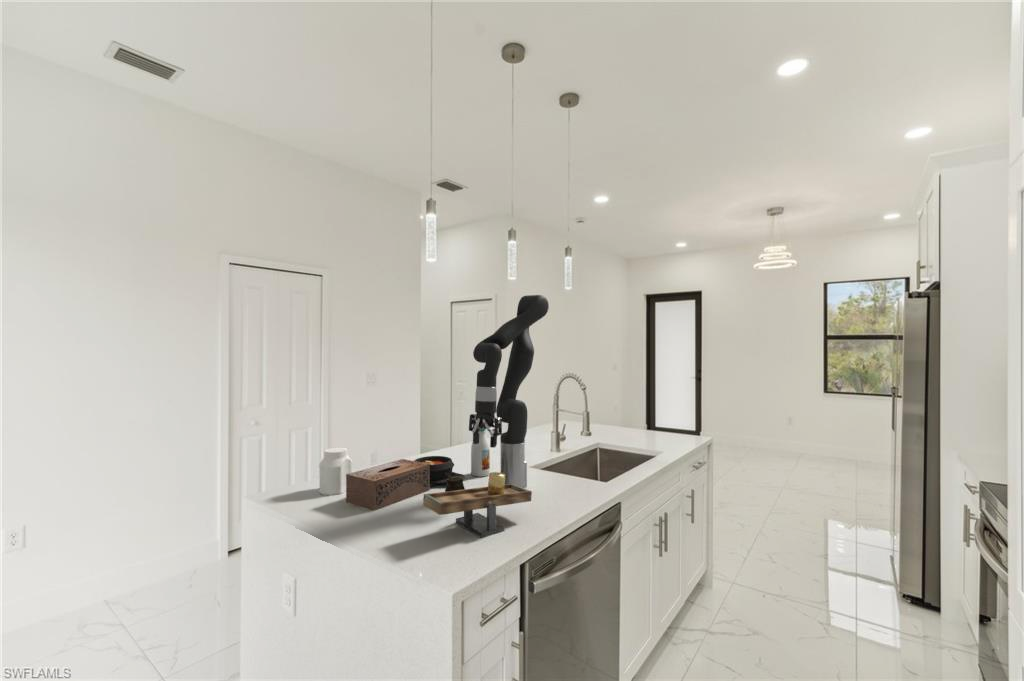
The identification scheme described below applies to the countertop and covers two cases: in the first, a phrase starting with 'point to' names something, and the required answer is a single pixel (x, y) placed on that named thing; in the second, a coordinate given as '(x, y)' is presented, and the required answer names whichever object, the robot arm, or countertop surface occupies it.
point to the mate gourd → (454, 483)
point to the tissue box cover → (387, 484)
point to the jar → (334, 471)
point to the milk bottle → (480, 456)
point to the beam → (474, 499)
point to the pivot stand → (481, 522)
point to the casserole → (439, 468)
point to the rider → (496, 483)
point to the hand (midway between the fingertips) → (484, 445)
